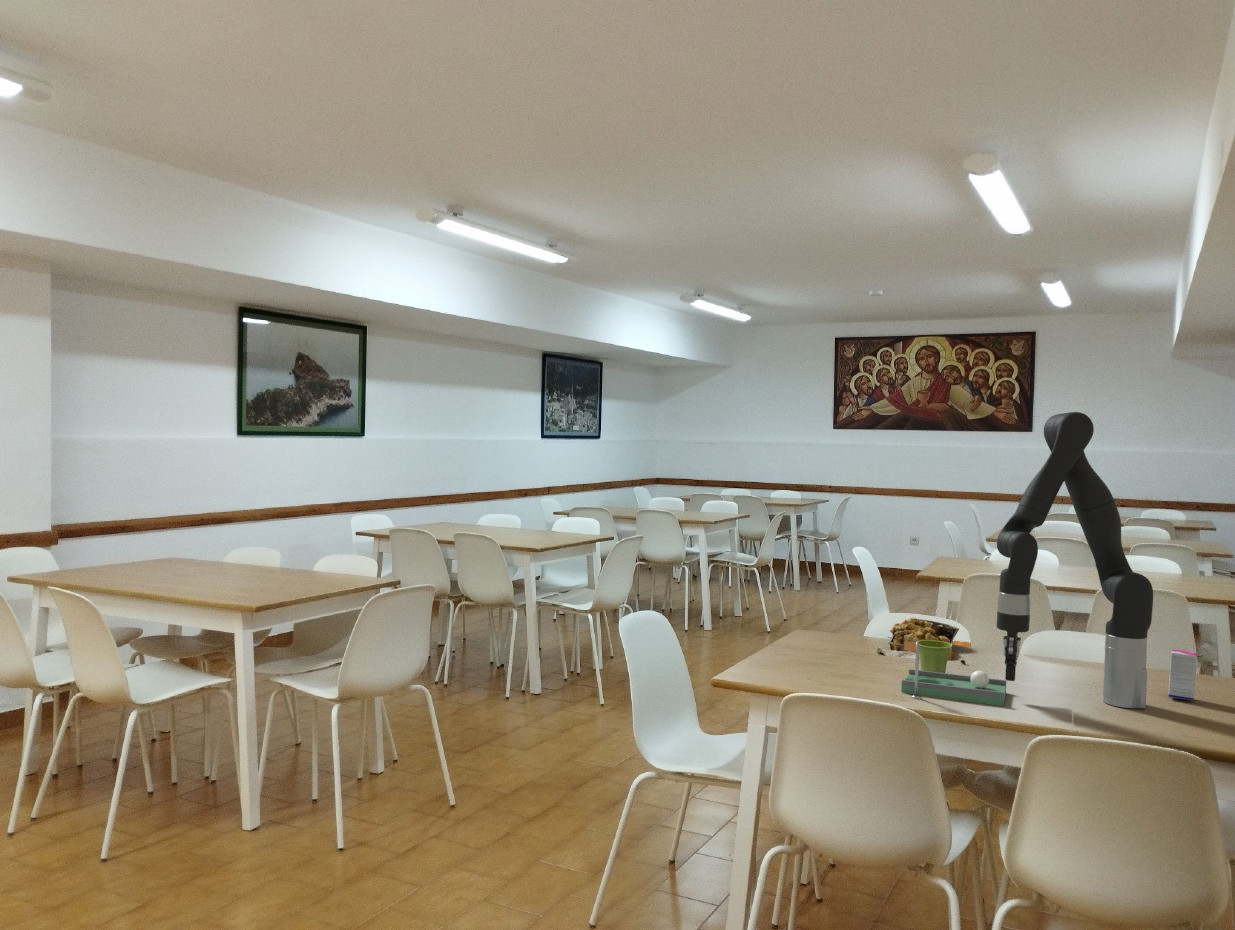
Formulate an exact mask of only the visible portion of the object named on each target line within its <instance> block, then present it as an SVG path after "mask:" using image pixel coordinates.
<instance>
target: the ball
mask: <svg viewBox="0 0 1235 930" xmlns="http://www.w3.org/2000/svg"><path fill="white" fill-rule="evenodd" d="M970 676H971V677H970V680H971V683H972V685H973V686H974V687H976V688H985V687H986V686H987V685H988V683H989V678H990V677H989V675H988V674H987V673H986V672H985V671H983V670H975V671H974V672H972V674H970Z"/></svg>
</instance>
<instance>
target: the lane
mask: <svg viewBox="0 0 1235 930" xmlns="http://www.w3.org/2000/svg"><path fill="white" fill-rule="evenodd" d="M970 677H971V675H964V674H954V673H946V672H945V673H939V672H931V671H922V670H921V669H919V671H918V695H920V696H924V695H926V697H932V698H933V697H934V698H939V699H940V698H941V699H946V700H953V701H960V700H961V701H962V702H969V703H977V704H983V703H986V705H993V706H999V707H1004V706H1005V699H1006V695H1007V680H1006V679H999V678H990V677H989V683H988V685H987V686H986V687H985V688H976V687H974V686H973V685H972V683H971V680H970ZM900 691H901V693H903V692H904V693H905V694H910V695H914V691H915V668H908V675H907V676H906V678H905V679H901V689H900ZM961 701H960V702H961Z"/></svg>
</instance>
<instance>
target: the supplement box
mask: <svg viewBox="0 0 1235 930" xmlns="http://www.w3.org/2000/svg"><path fill="white" fill-rule="evenodd" d="M1197 656H1198V654H1197V652H1195V651H1189V650H1188V651H1187V650H1179V649H1174V648H1172V649H1171V652H1170V666H1169V676H1168V677H1169V679H1168V692H1167V693H1168V694H1167V695H1168V696H1167V697H1168V698H1174V699H1181V700H1188V701H1194V700H1195V694H1196V693H1195V691H1196V690H1195V689H1196V679H1197V678H1196V676H1197V663H1198V662H1197V661H1198V657H1197Z"/></svg>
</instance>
